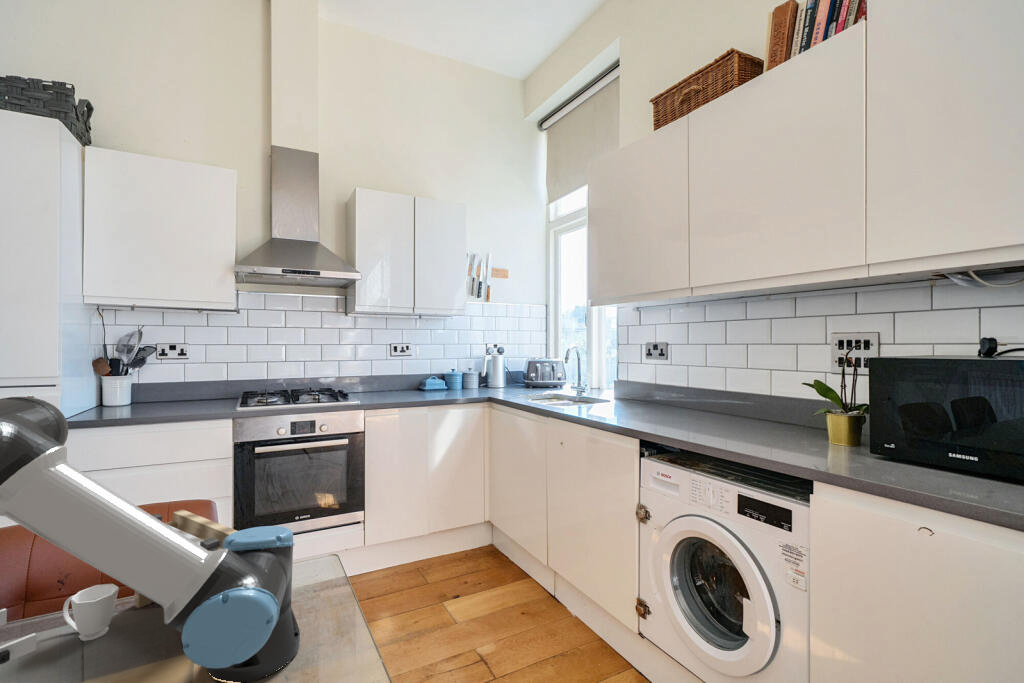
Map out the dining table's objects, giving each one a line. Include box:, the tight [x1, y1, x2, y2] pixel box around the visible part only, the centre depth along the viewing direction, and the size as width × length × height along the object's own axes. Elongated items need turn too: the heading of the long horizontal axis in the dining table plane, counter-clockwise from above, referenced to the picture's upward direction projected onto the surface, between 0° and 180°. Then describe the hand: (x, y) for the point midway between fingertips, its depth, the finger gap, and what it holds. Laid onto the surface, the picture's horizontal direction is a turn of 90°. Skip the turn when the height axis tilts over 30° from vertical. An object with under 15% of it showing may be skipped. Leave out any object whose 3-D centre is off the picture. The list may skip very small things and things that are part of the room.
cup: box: [62, 583, 120, 642], centre depth 91 cm, size 7×10×8 cm
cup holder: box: [133, 509, 238, 609], centre depth 98 cm, size 24×9×19 cm, turn 62°
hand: (20, 628), depth 83 cm, fingers open, 13 cm apart
